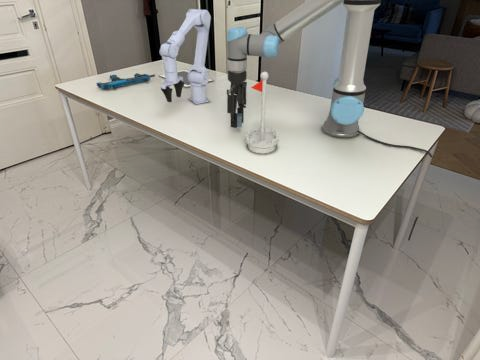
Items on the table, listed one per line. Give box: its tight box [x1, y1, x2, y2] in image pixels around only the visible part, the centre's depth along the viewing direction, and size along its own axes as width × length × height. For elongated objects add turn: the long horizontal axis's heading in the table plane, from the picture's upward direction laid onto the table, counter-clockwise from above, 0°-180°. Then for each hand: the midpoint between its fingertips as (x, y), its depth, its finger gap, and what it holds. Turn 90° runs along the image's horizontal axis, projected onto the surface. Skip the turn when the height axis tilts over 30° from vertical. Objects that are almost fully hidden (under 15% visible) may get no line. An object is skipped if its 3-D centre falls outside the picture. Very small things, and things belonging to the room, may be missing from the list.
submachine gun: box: [95, 72, 156, 91], centre depth 209 cm, size 34×4×25 cm
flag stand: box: [245, 71, 280, 154], centre depth 128 cm, size 13×13×30 cm
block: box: [236, 112, 243, 128], centre depth 145 cm, size 4×4×5 cm
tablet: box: [158, 69, 214, 88], centre depth 216 cm, size 32×20×1 cm, turn 41°
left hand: (174, 99), depth 165 cm, fingers open, 7 cm apart
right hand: (237, 124), depth 146 cm, fingers closed on block, 5 cm apart
